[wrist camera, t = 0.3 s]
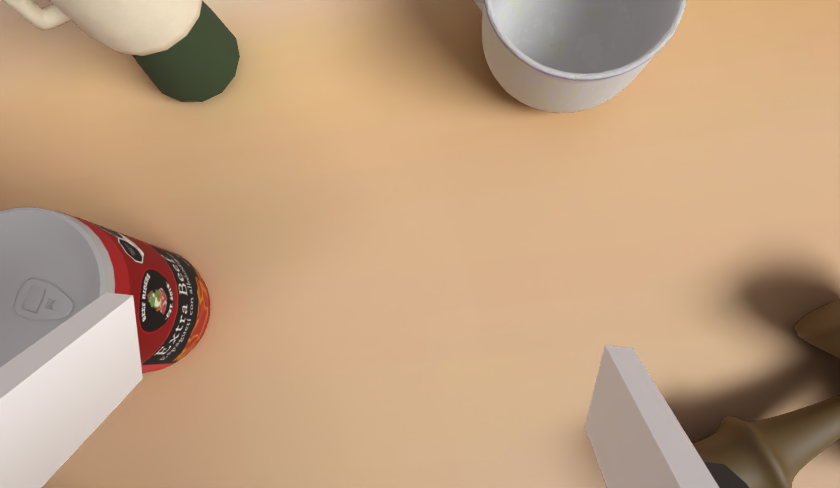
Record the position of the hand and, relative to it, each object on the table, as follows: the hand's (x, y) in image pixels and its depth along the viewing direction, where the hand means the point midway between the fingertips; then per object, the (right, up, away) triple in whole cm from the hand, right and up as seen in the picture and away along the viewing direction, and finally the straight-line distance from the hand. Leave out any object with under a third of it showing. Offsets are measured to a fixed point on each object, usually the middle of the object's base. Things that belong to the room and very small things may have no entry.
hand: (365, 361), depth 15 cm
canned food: (-15, -1, +19) cm, 24 cm away
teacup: (+9, +17, +21) cm, 29 cm away
